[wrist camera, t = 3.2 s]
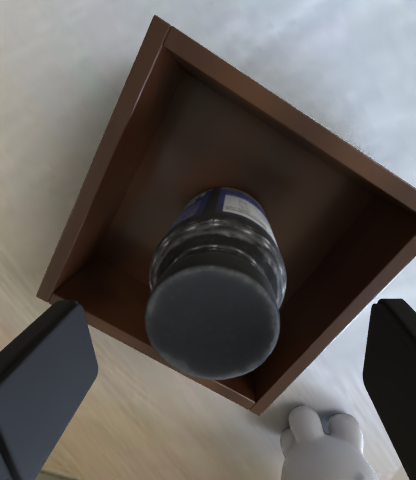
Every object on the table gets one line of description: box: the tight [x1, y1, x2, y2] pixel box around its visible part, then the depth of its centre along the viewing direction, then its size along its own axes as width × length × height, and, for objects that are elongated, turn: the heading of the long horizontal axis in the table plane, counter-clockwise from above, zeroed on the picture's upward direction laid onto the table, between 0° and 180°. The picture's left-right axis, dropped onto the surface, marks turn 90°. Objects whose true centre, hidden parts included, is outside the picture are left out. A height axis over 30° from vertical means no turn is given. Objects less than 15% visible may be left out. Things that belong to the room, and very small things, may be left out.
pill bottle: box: [145, 187, 287, 380], centre depth 15 cm, size 6×6×11 cm
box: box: [36, 15, 416, 416], centre depth 18 cm, size 16×16×6 cm
